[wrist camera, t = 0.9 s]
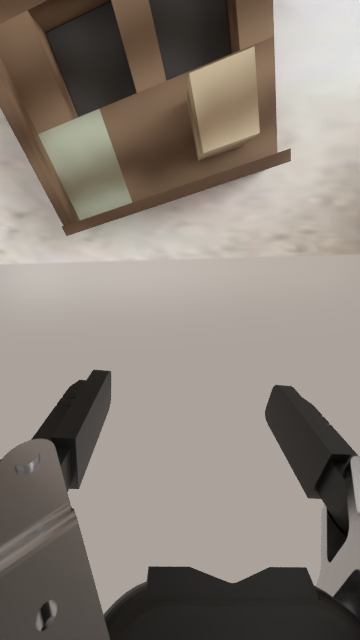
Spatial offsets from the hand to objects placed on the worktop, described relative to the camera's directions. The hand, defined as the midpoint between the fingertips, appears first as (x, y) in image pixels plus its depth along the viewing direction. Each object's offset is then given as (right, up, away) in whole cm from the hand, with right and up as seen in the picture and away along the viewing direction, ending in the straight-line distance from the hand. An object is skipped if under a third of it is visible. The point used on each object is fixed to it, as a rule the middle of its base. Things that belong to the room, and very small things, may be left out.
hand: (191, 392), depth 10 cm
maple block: (+3, +24, +11) cm, 26 cm away
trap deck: (-4, +27, +12) cm, 30 cm away
